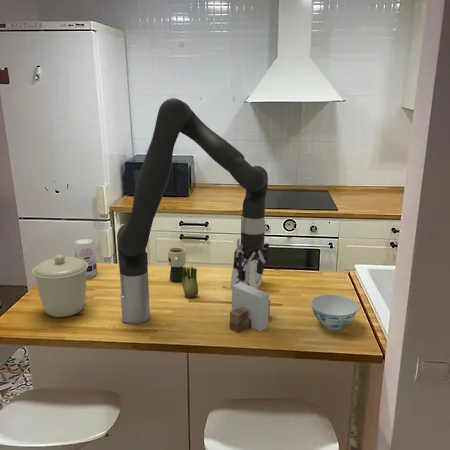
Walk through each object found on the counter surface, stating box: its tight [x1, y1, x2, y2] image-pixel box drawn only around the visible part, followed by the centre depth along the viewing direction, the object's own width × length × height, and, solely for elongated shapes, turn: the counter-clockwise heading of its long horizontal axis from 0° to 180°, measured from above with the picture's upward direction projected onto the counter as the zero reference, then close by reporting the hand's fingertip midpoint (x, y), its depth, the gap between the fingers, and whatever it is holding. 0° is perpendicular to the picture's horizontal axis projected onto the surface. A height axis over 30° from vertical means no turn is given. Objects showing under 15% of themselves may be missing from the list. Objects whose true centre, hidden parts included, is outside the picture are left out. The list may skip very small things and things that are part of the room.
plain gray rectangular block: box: [231, 281, 270, 332], centre depth 156 cm, size 4×13×12 cm, turn 45°
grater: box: [229, 236, 263, 290], centre depth 184 cm, size 10×10×20 cm
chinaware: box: [310, 293, 359, 331], centre depth 155 cm, size 15×15×8 cm
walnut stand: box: [229, 299, 271, 333], centre depth 157 cm, size 16×4×6 cm, turn 134°
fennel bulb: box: [181, 265, 199, 299], centre depth 175 cm, size 6×5×12 cm
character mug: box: [167, 246, 187, 282], centre depth 189 cm, size 11×7×13 cm, turn 3°
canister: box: [31, 253, 88, 318], centre depth 162 cm, size 18×18×21 cm
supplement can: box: [73, 238, 98, 279], centre depth 193 cm, size 8×8×15 cm
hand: (251, 277), depth 153 cm, fingers open, 8 cm apart
